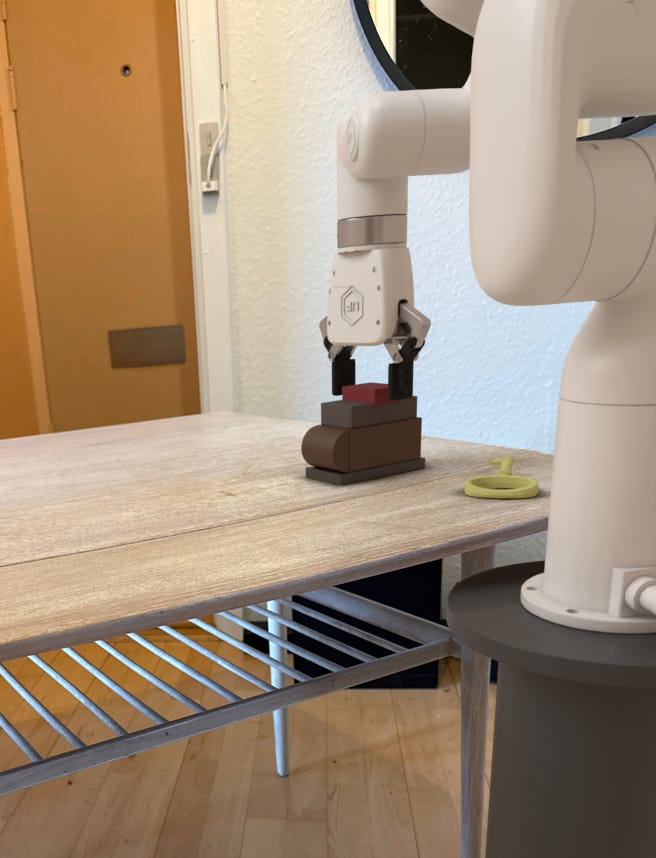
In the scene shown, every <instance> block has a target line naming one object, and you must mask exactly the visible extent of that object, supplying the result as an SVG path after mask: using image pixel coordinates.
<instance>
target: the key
mask: <svg viewBox="0 0 656 858" xmlns="http://www.w3.org/2000/svg"><path fill="white" fill-rule="evenodd" d="M514 461H515V458H514V457H513V456H512V455H505V456H504V457H502V458H488V462H487V465H488V466H500V468H499V470H497V471H496V472H495V473H494V474H493V475H480V476H474V477H473V476H472V477H470V478H468V479H466V481H465V483H464V494H465V495H467V496H470V497H475V498H484V499H485V498H488V499H526V498H533V497H536V496H537V495H538V493H539V489H540V487H539V481H538V480H537V479H536V478H532V477H528V476H521V475H514V474H513V472H512V469H513V466H514Z"/></svg>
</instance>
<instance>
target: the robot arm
mask: <svg viewBox="0 0 656 858" xmlns="http://www.w3.org/2000/svg"><path fill="white" fill-rule="evenodd" d="M420 2H421V3H422V4H423V5H424V6H425V7H426V8H427V9H428V10H429V11H430V12H431V13H432V14H434V15H435V16H436V17H437V18H439V19H441V20H442V21H444V22H445V23H447V24H450V25H451V26H453V27H455V28H457V30H460V31H462V32H463V33H465V34H468V35H469V36H470V37H472V38H473V45H472V54H471V66H470V73H469V75H468V77H467V80H466V81H465V84H464V85H463V86H462V87H461V88H459V87H457V88H456V87H455V88H451V87H450V88H430V89H429V88H427V89H410V90H386V91H378V92H374V93H371V94H368V95H366V96H364V97H363V98H361V100H360V101H358V103H357V104H356V106H355V107H354V109H353V110H350V111H349V112H347V113H345V114H343V115H342V116H341V117H340V119H339V121H338V123H337V128H336V204H337V205H336V211H337V213H336V214H337V216H336V217H337V219H336V220H337V223H336V227H337V228H336V230H337V231H336V240H337V245H336V247H337V253H334V254H333V257H332V261H331V268H330V274H329V282H328V292H327V293H328V294H327V310H326V311H327V313H326V314H327V315H326V316H325V317H324V318H323V319H322V320H320V322H319V325H318V326H319V330H320V333H321V336H322V340H323V342H322V343H323V346H324V348H325V350H326V352H327V358H328V361H329V362H331V395H332V396H334V397H338V396H342V387H343V386H349V385H356V384H357V383H356V381H357V379H356V378H357V377H356V371H357V370H356V369H357V368H356V367H357V366H356V358H352V357H353V355H354V354H355V351H356V349H357V347H376V346H381V345H384V347H385V349H386V351H387V352H388V355H389V356H390V358H391V360H392V361H393V362H392V363H391V362H390V363H388V366H387V370H388V371H387V384H388V399H389V400H391V401H396V400H402V399H409V398H412V396H414V366H415V365H414V362H417V360H419V353H420V352H421V351H422V349H423V348H424V346H425V345H426V339H427V336H428V333H429V332H430V328H431V325H432V320H431V319H430V318H429V317H428V316H427V315H425V314H423V313H422V312H421V311H420V310H418V309H417V308H416V307H415V288H414V287H415V286H414V285H415V284H414V275H413V265H412V258H411V251H410V247H408V211H409V210H408V207H409V206H408V205H409V203H408V201H409V200H408V199H409V177H416V176H418V177H419V176H420V177H421V176H432V175H433V176H437V175H438V176H439V175H453V174H454V175H455V174H462V173H464V172H466V171H468V170H469V178H468V179H469V183H468V185H469V186H468V187H469V189H468V198H469V199H468V238H469V250H470V259H471V265H472V269H473V272H474V275H475V276H474V277H475V278H476V281H477V282H478V284H479V287H480V288H481V289H482V291H483V292H484V293H485V294H486V295H487V296H488V297H489V298H491V299H492V300H493V301H496V302H497V303H500V304H503V305H507V306H514V307H534V306H547V305H561V304H573V303H584V302H595V303H594V304H593V307H592V308H591V309H590V311H589V313H588V315H587V316H586V317H585V320H584V321H583V322H582V324H581V325H580V328H579V329H578V331H577V333H576V334H575V336H574V338H573V339H572V342H571V343H570V346H569V348H568V350H567V353H566V356H565V358H564V361H563V366H562V370H561V374H560V375H561V376H560V383H559V392H558V393H559V394H558V404H557V413H556V414H557V415H556V426H555V438H554V439H555V440H554V450H553V463H552V476H551V485H550V499H549V509H548V510H549V511H548V523H547V533H546V547H545V559H544V561H545V569H544V573H541V574H539V575H536V576H533V577H532V578H530V579H528V580H527V581H526V582H525V583H524V584H523V585H522V588H521V597H520V598H521V603H522V605H523V606H524V607H525V608H526V609H527V610H528V611H529V612H531V613H532V614H534V615H536V616H538V617H540V618H542V619H544V620H547V621H549V622H552V623H555V624H559V625H562V626H566V627H570V628H575V629H581V630H586V631H593V632H602V633H615V634H648V633H656V135H655V136H653V135H652V136H635V137H633V136H632V137H617V138H612V139H598V140H596V139H595V140H577V138H578V137H577V136H578V127H579V120H588V119H589V120H590V119H591V120H592V119H611V118H631V117H646V116H654V115H655V116H656V0H420Z"/></svg>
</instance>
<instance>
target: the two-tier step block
mask: <svg viewBox="0 0 656 858" xmlns="http://www.w3.org/2000/svg"><path fill="white" fill-rule="evenodd" d="M416 417H418V396H417V395H413V396H412V398H409V399H402V400H396V401H391V400H389V399H388V383H382V382H371V381H370V382H364V383H356V385H349V386H343V387H342V395H341V399H338V400H331V401H326V402H321V403H320V425H321V424H322V425H328V426H335V427H342V428H348V429H354V428H360V427H366V426H372V425H377V424H383V423H389V422H394V421H400V420H406V419H412V418H416Z"/></svg>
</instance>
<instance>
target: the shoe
mask: <svg viewBox="0 0 656 858" xmlns="http://www.w3.org/2000/svg"><path fill="white" fill-rule="evenodd" d="M422 426H423V417H421V416H417V417H416V418H412V419H406V420H400V421H394V422H389V423H383V424H377V425H372V426H366V427H360V428H354V429H348V428H342V427H335V426H328V425H322V424H321V423H320V424H317V425H314V426H312V427H310V428H309V429H308V430H307V431H306V432H305V434H304V436H303V438H302V440H301V447H300V449H301V455H302V458H303V460H304V461H305V462H306V463H307V464H308V465H309V466H306V467H305V478H308V479H313V480H317V481H321V482H325V483H330V484H334V485H339V486H344V485H349V484H353V483H360V482H363V481H369V480H373V479H377V478H383V477H387V476H391V475H392V476H393V475H397V474H402V473H407V472H411V471H416V470H421V469H425V468H426V458H425V457H422V456H421V455H422V429H423V428H422Z"/></svg>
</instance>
